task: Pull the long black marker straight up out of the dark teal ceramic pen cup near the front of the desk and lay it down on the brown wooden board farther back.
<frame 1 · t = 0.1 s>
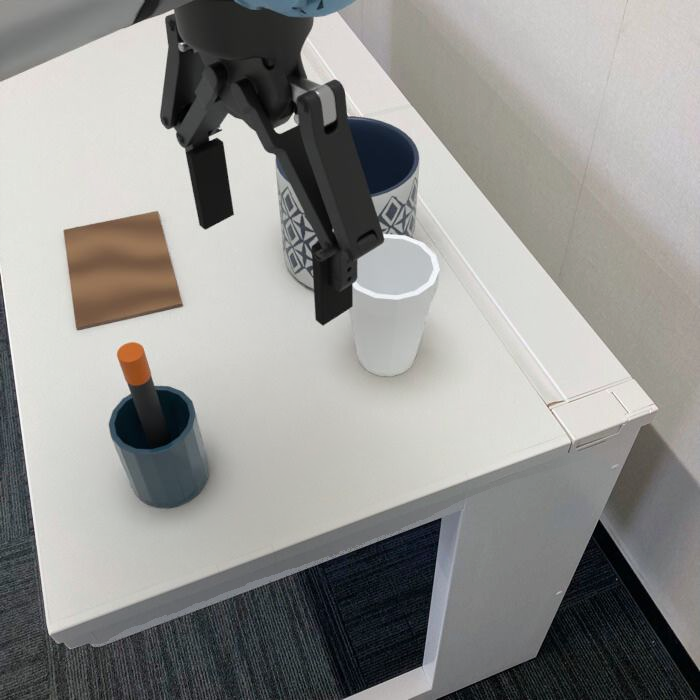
hand: (272, 264, 56), 26 cm above the table, tool pointing down, fingers open, 13 cm apart
foam cup: (386, 355, 84), on the table
planter: (348, 255, 95), on the table
marker: (169, 469, 74), point 1 cm above the table, touching pen cup
brown wooden board: (120, 267, 94), on the table
pen cup: (170, 474, 74), on the table
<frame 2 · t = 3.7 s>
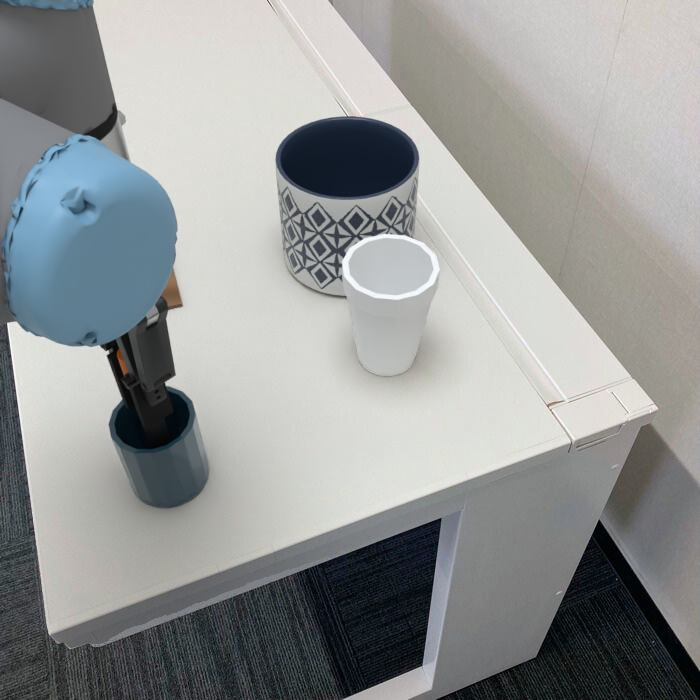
hand: (148, 408, 66), 10 cm above the table, tool pointing down, fingers closed on marker, 2 cm apart
marker: (169, 469, 74), point 1 cm above the table, touching gripper, pen cup
everything else where it was.
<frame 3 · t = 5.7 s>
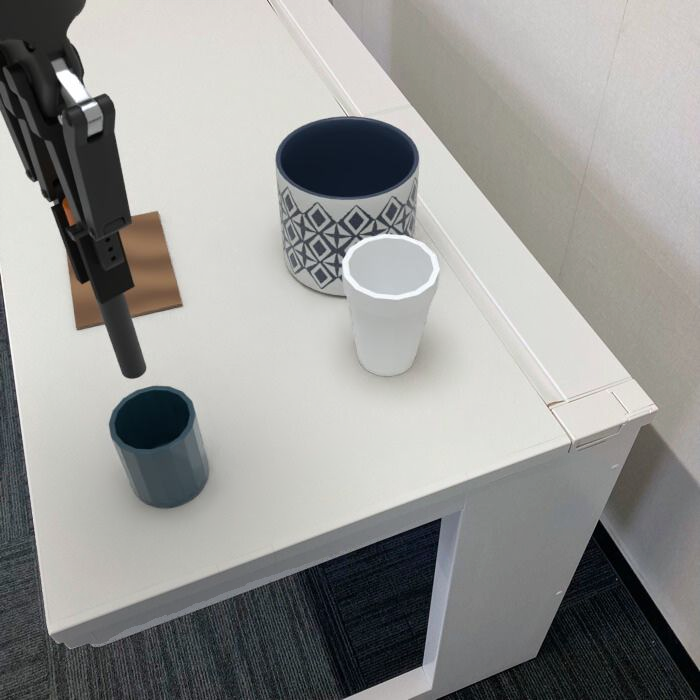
hand: (105, 282, 56), 25 cm above the table, tool pointing down, fingers closed on marker, 2 cm apart
marker: (134, 369, 63), point 15 cm above the table, touching gripper
everything else where it was.
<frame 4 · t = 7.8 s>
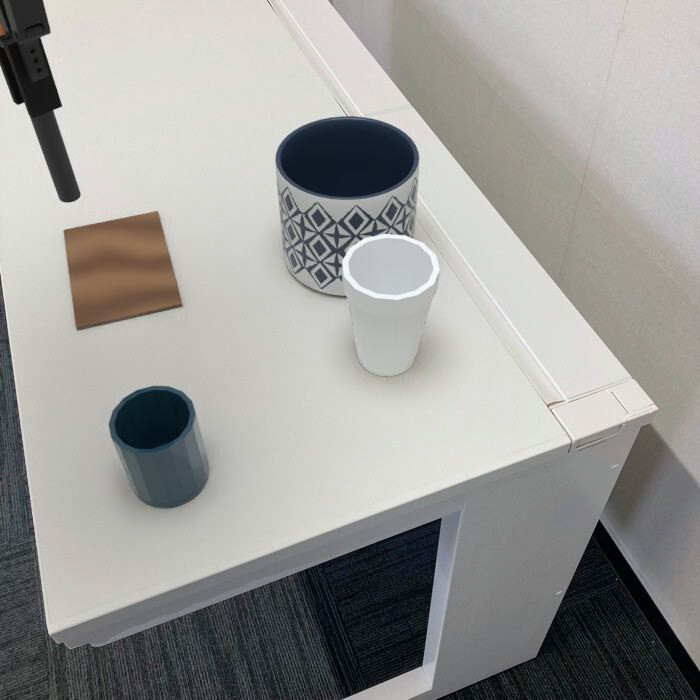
hand: (37, 103, 65), 29 cm above the table, tool pointing down, fingers closed on marker, 2 cm apart
marker: (70, 196, 72), point 19 cm above the table, touching gripper
everything else where it was.
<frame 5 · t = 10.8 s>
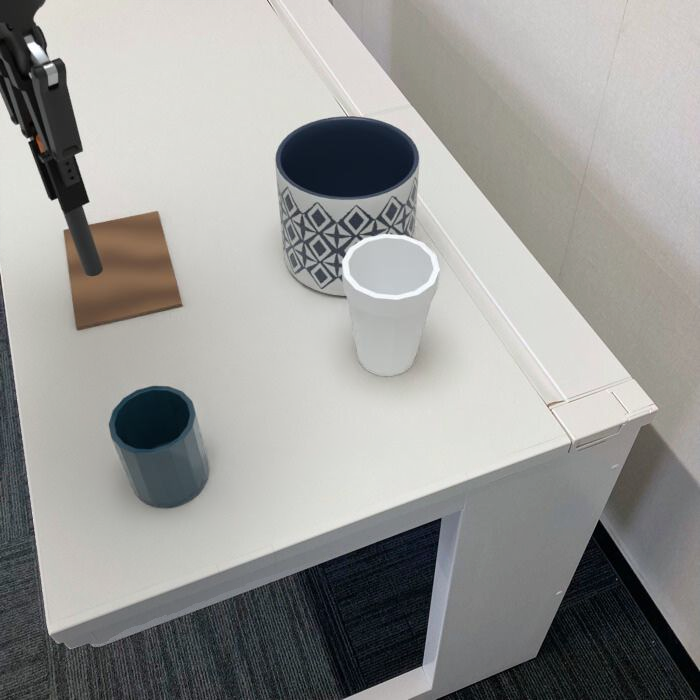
hand: (68, 199, 78), 16 cm above the table, tool pointing down, fingers closed on marker, 2 cm apart
marker: (93, 270, 85), point 6 cm above the table, touching gripper
everything else where it was.
when the fingers open (10 cm above the table, at t = 12.3 s): marker stays where it is, resting on brown wooden board.
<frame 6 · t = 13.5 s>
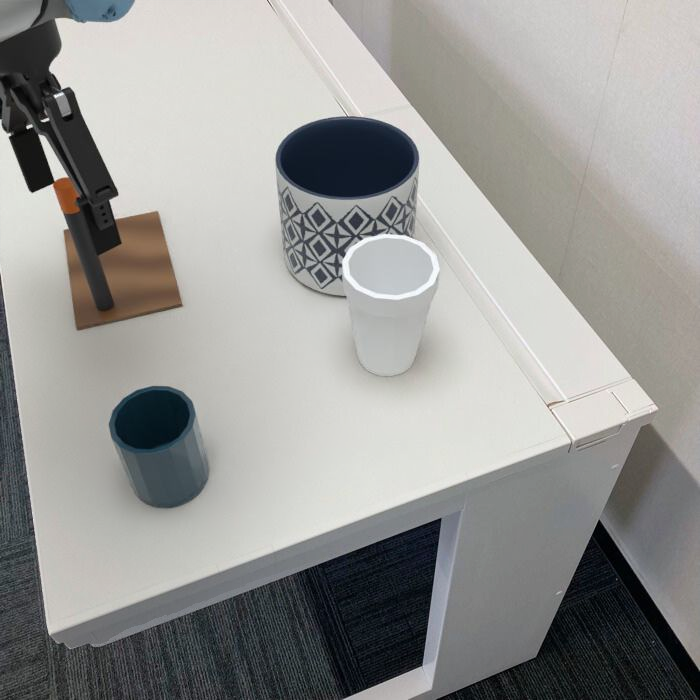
hand: (73, 216, 79), 14 cm above the table, tool pointing down, fingers open, 13 cm apart
marker: (105, 305, 89), resting on brown wooden board
everything else where it was.
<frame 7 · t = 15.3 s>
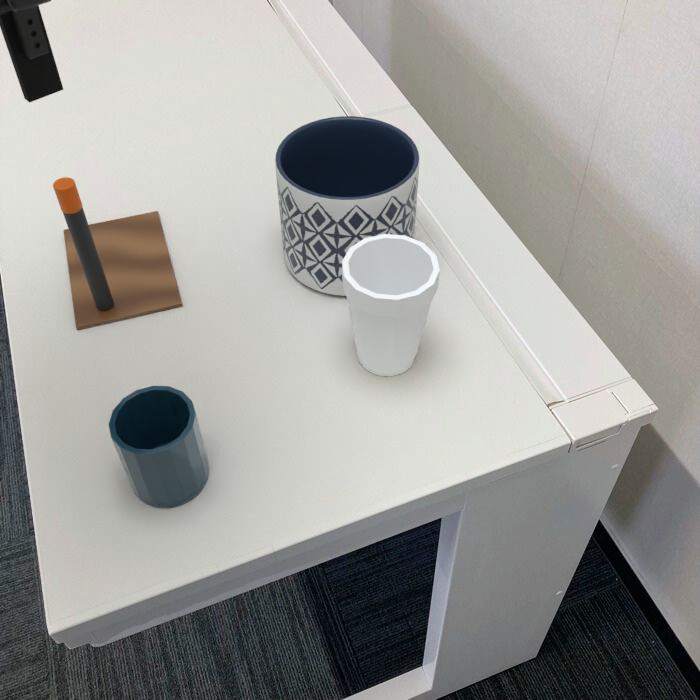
hand: (1, 61, 60), 34 cm above the table, tool pointing down, fingers open, 13 cm apart
nothing on the table moved.
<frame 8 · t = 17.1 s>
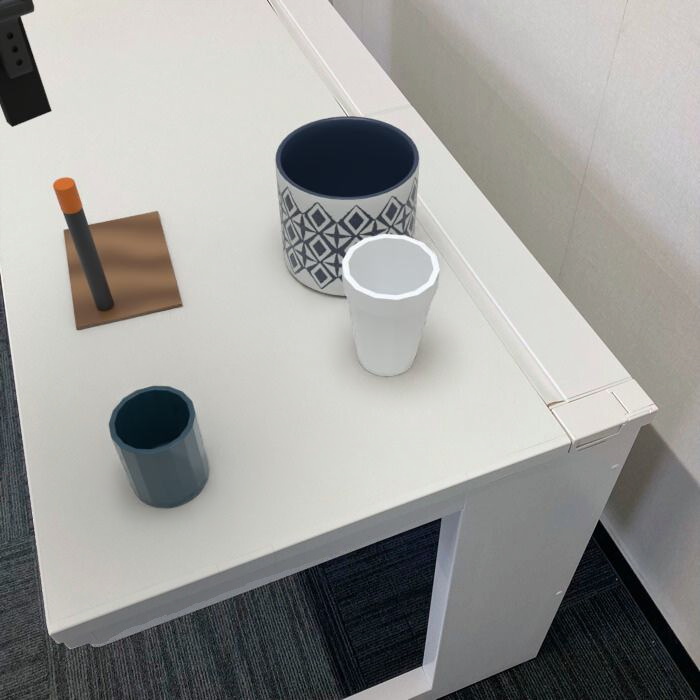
nothing on the table moved.
at the end: marker inside the target area on the brown wooden board (5.6 cm from its centre), point 0.5 cm above the brown wooden board's base; the gripper is holding nothing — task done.
